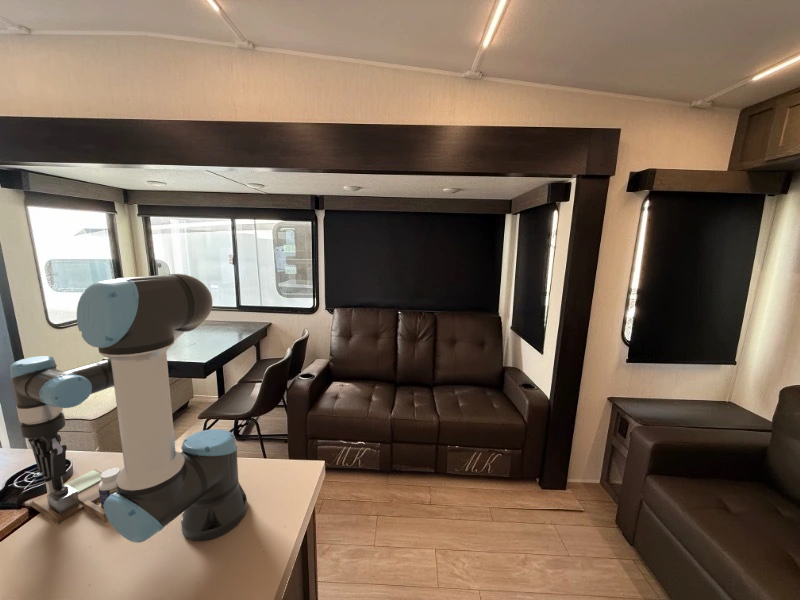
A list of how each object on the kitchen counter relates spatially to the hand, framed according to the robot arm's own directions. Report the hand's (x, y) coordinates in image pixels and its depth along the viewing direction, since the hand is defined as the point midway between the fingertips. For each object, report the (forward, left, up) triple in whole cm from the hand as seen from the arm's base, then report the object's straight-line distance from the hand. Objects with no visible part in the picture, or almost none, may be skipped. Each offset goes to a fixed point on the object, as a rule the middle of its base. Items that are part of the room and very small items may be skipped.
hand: (57, 497), depth 87 cm
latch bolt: (-3, 0, -1) cm, 3 cm away
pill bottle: (-13, -6, -3) cm, 14 cm away
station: (-5, -4, -3) cm, 7 cm away
